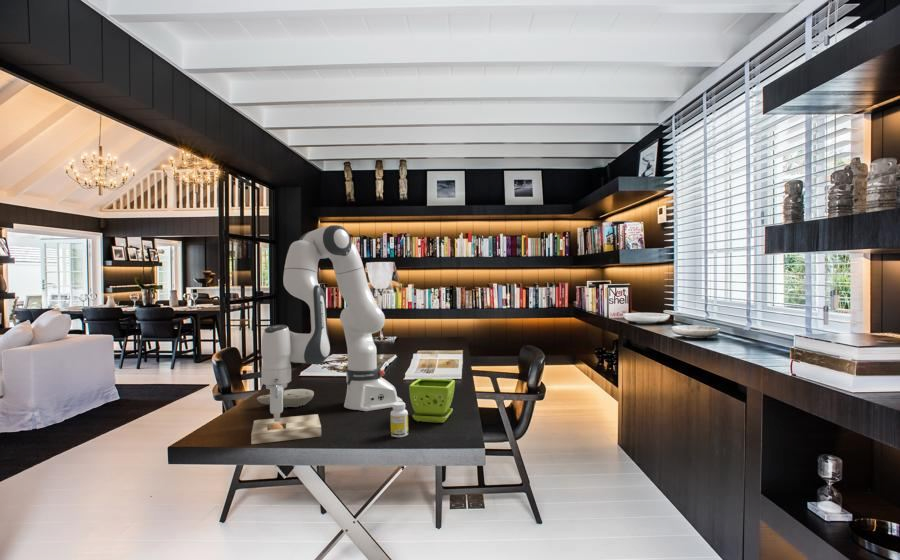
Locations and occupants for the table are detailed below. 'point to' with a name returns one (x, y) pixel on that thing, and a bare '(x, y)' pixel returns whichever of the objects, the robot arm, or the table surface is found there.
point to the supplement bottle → (399, 420)
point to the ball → (276, 426)
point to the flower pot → (432, 399)
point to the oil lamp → (291, 397)
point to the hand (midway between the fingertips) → (276, 420)
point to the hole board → (286, 429)
